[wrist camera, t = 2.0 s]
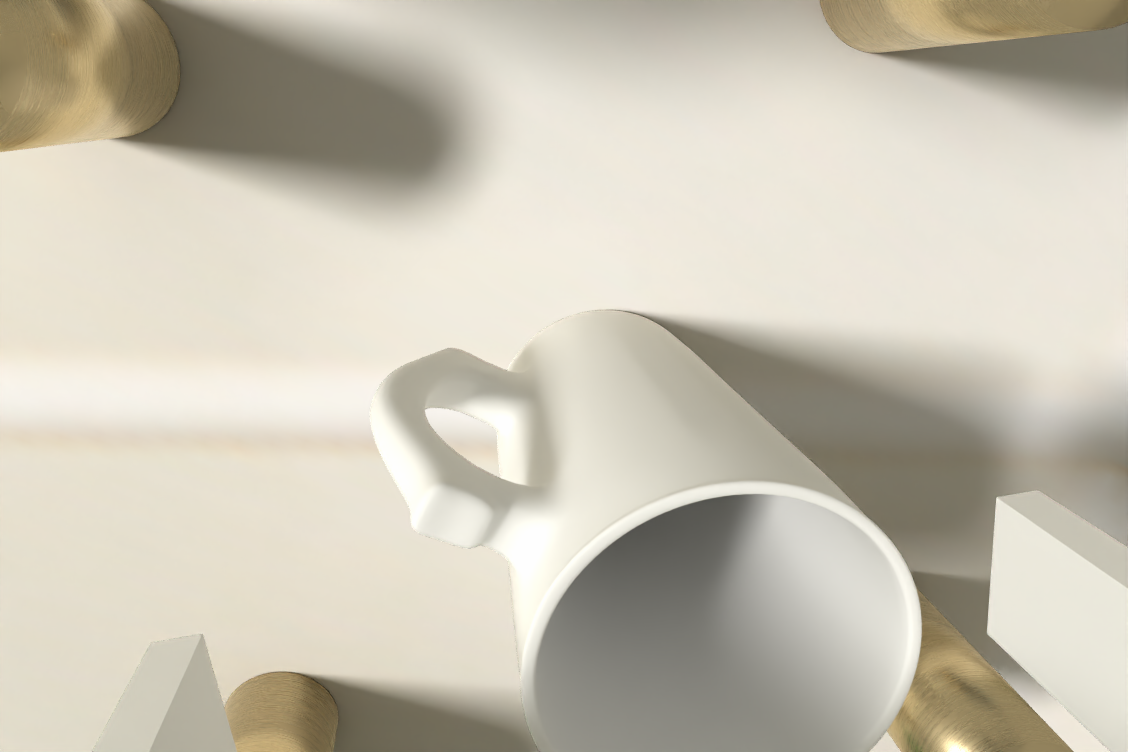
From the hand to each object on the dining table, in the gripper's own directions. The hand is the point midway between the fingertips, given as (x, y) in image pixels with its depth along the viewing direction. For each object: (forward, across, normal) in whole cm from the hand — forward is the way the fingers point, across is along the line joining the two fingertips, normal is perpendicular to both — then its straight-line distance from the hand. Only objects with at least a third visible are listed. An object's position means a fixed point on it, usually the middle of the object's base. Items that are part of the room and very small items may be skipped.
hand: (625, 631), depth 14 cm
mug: (+12, 0, 0) cm, 12 cm away
